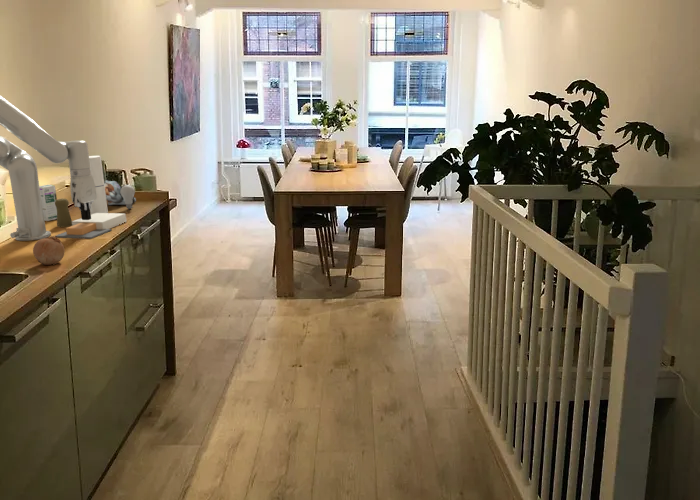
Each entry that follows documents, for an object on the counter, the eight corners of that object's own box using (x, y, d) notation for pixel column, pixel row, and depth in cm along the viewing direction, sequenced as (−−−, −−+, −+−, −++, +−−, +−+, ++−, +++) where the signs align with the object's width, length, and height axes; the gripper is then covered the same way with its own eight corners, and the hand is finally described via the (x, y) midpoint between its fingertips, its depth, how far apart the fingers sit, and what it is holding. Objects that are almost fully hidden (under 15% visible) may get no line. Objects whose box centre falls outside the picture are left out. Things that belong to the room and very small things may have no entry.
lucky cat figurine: (138, 204, 335) (124, 180, 326) (114, 216, 333) (99, 193, 324) (131, 190, 346) (117, 167, 337) (108, 202, 344) (94, 179, 335)
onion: (62, 269, 242) (73, 241, 242) (52, 270, 233) (62, 240, 233) (35, 260, 242) (46, 232, 242) (23, 260, 233) (34, 230, 233)
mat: (91, 238, 271) (91, 237, 271) (55, 237, 276) (54, 235, 276) (111, 230, 283) (111, 229, 283) (76, 229, 288) (76, 227, 288)
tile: (82, 234, 276) (81, 228, 275) (66, 234, 277) (65, 228, 277) (96, 229, 284) (95, 223, 283) (80, 228, 286) (80, 223, 285)
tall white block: (104, 215, 313) (97, 157, 306) (88, 216, 313) (80, 158, 307) (110, 212, 320) (103, 155, 313) (94, 212, 320) (86, 156, 314)
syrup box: (47, 221, 306) (42, 187, 302) (40, 219, 309) (35, 186, 306) (60, 218, 310) (55, 185, 307) (52, 217, 314) (47, 184, 310)
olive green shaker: (67, 227, 293) (63, 200, 290) (54, 227, 294) (50, 200, 291) (75, 223, 299) (72, 197, 296) (62, 223, 300) (58, 197, 297)
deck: (103, 230, 283) (102, 222, 282) (72, 229, 287) (71, 221, 286) (126, 221, 298) (125, 213, 297) (97, 221, 302) (96, 212, 301)
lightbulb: (119, 210, 323) (116, 185, 320) (129, 207, 328) (126, 183, 325) (129, 211, 320) (126, 186, 317) (139, 208, 325) (136, 184, 323)
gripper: (76, 176, 272) (82, 224, 276) (100, 170, 286) (106, 215, 290) (59, 175, 274) (66, 223, 279) (84, 169, 288) (89, 215, 292)
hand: (86, 219), depth 284 cm, fingers closed
